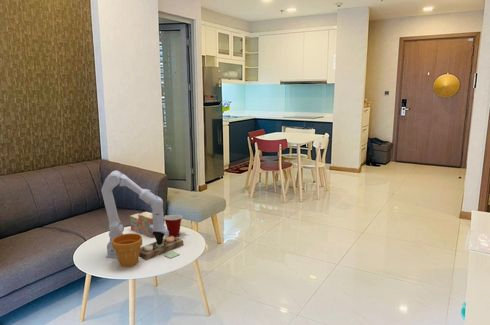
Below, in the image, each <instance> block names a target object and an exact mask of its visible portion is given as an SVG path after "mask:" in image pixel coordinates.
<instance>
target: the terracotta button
mask: <svg viewBox="0 0 490 325" xmlns="http://www.w3.org/2000/svg"><path fill="white" fill-rule="evenodd" d="M165 238H166V242H167V243H172V242H174V237H169V236H167V237H165Z"/></svg>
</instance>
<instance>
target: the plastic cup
mask: <svg viewBox="0 0 490 325" xmlns="http://www.w3.org/2000/svg"><path fill="white" fill-rule="evenodd" d="M182 219H183V215H180V214H170V215H169V214H168V215H164V223H165V226H166V229H167V230H168V231H169V234H168V237H170V236H174V237H176V238H178V237H179V236H180V231H181V223H182Z"/></svg>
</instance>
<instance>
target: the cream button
mask: <svg viewBox="0 0 490 325" xmlns="http://www.w3.org/2000/svg"><path fill="white" fill-rule="evenodd" d="M143 246H144V251H146V252H149V251H152V250H153V245H148V244H146V245H143Z"/></svg>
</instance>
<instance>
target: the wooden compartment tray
mask: <svg viewBox="0 0 490 325" xmlns="http://www.w3.org/2000/svg"><path fill="white" fill-rule="evenodd" d="M170 237H174V236H170ZM166 238H167V237H165V238H163V242H162V243H164V246H162V247H159V248H158V247H156V243H157V241H156V240H155V241H154V242H152V243H149V244H147V245H153V250H152V251H149V252H146V251H144V246H145V245H142V246H141V247H140V254H139V258H141V259H143V260H145V261H149V260H151V259H154V258H156V257H159V256H161V255H164V254H166V253H169V252H171V251H174V250H176V249H178V248H180V247H182V246H184V240H183V239H181V238H178V237H174V242H172V243H167V242H166Z"/></svg>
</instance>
